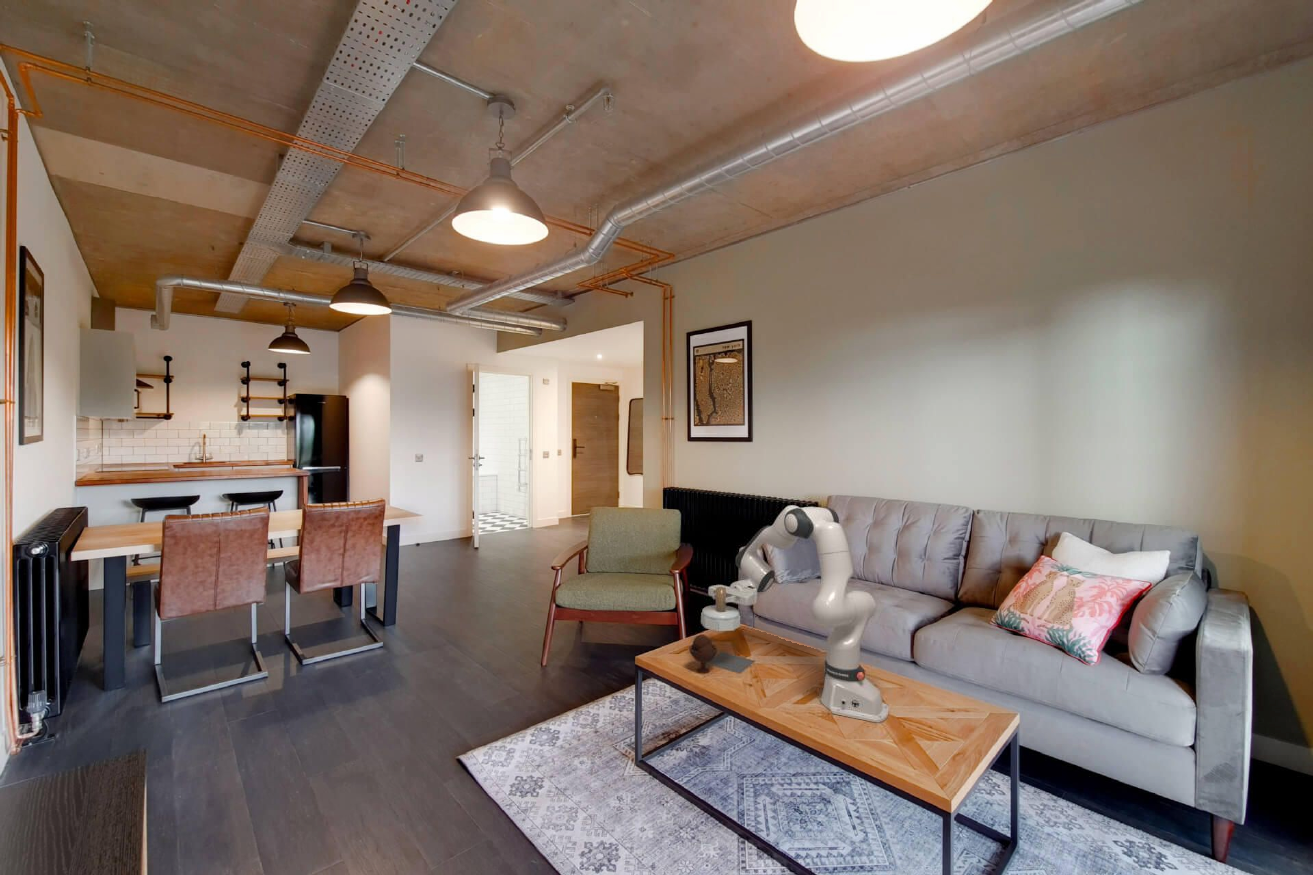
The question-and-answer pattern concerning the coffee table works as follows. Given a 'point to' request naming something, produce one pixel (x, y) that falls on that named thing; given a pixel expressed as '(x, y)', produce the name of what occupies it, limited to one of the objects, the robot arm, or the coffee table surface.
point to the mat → (730, 662)
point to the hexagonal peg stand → (720, 614)
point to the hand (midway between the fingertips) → (719, 598)
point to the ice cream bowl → (703, 652)
